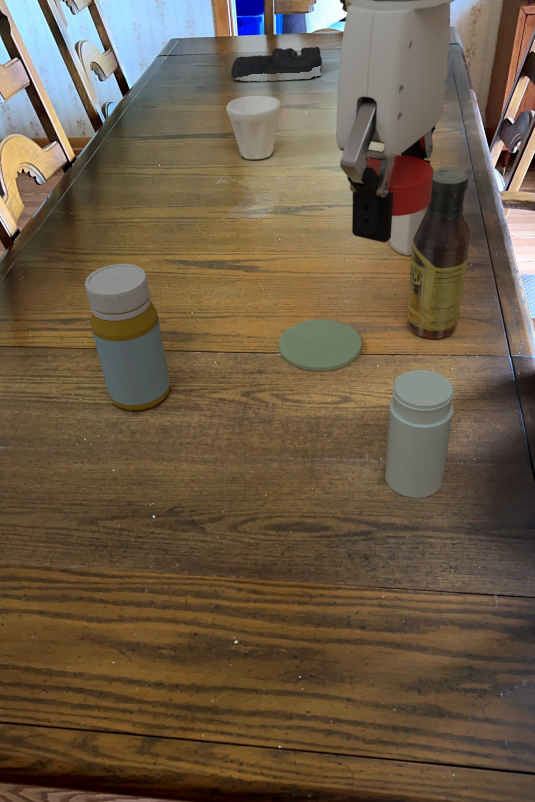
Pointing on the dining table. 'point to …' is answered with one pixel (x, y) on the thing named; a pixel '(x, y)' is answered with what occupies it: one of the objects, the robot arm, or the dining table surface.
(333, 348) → the coaster
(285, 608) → the dining table surface
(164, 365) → the bottle
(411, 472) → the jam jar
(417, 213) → the eye dropper bottle
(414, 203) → the cap
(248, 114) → the cup
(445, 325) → the sauce bottle
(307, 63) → the black sneaker
